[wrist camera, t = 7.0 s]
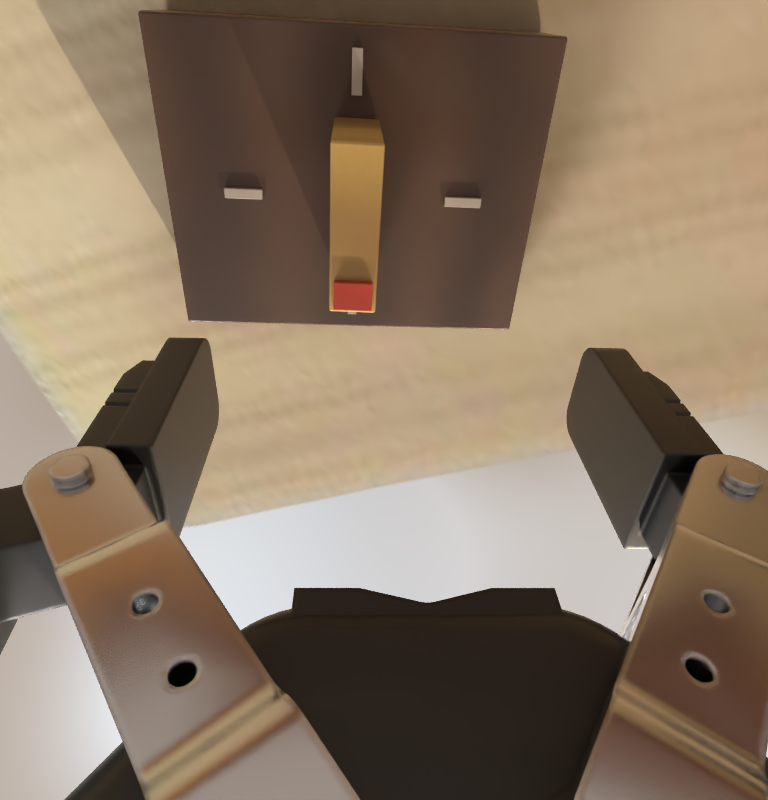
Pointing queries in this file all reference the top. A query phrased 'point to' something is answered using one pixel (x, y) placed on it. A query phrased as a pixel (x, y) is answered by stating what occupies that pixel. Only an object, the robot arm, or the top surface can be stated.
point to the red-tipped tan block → (355, 213)
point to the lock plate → (310, 161)
